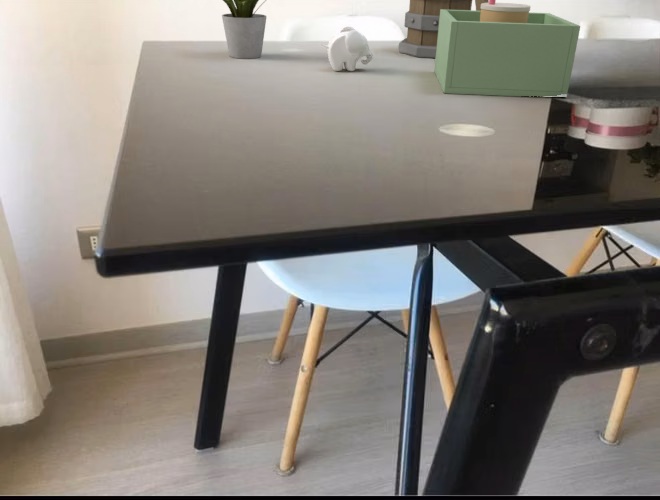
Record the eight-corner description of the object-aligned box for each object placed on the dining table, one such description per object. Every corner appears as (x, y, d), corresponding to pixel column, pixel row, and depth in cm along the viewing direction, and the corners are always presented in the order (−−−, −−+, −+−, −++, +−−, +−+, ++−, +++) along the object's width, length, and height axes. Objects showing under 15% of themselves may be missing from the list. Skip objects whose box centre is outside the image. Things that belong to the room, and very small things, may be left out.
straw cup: (514, 74, 90) (530, -33, 84) (523, 83, 84) (541, -31, 78) (469, 72, 91) (482, -34, 84) (475, 81, 85) (489, -33, 79)
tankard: (386, 49, 114) (392, -43, 107) (441, 45, 119) (450, -42, 113) (458, 68, 98) (470, -38, 91) (518, 63, 104) (533, -37, 97)
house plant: (304, 63, 98) (305, -53, 91) (215, 66, 94) (209, -56, 87) (280, 49, 110) (279, -55, 103) (200, 51, 106) (194, -57, 99)
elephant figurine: (377, 74, 92) (379, 31, 89) (322, 74, 91) (323, 30, 88) (368, 65, 98) (371, 25, 95) (317, 65, 97) (318, 24, 94)
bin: (538, 75, 94) (549, 13, 91) (566, 98, 80) (580, 25, 77) (434, 71, 95) (440, 9, 91) (443, 93, 81) (451, 21, 77)
